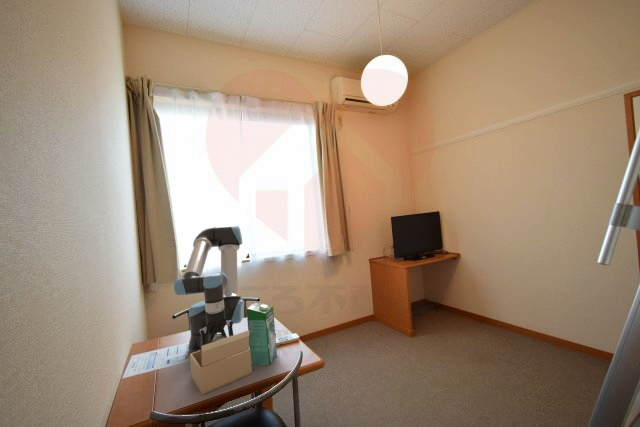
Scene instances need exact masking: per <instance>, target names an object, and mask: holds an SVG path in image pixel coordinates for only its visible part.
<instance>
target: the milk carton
mask: <svg viewBox="0 0 640 427" xmlns="http://www.w3.org/2000/svg"><path fill="white" fill-rule="evenodd" d="M274 314H275V312H274V306H272V305H268V304H265V303H260V302H256V301H255V302H254V303H252V304H251V305H250V306H248V307H247V308H246V318H247V331H248V330H249V349H250V352H251V365H262V366H265V365H266V366H268V365H269V366H270V365H271V364H272V362H273V361H274V359H275V358H276V357H277V355H278V349H277V338H276V336H277V335H276V327H275V325H276V324H275V315H274Z"/></svg>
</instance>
